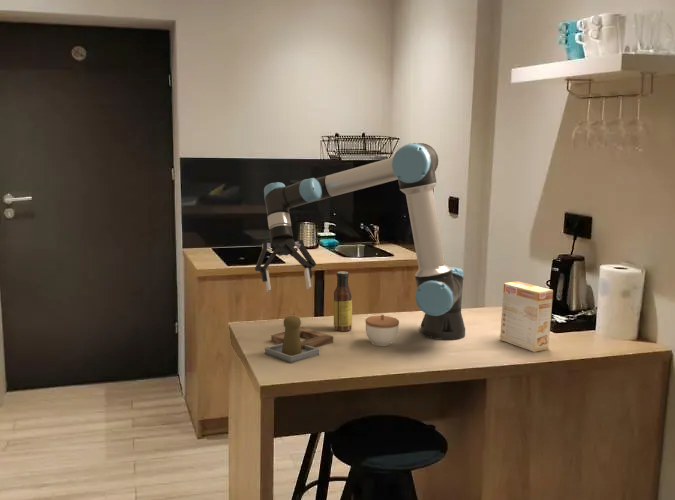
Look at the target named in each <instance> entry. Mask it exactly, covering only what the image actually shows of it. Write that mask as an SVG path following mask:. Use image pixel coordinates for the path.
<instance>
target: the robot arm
mask: <svg viewBox="0 0 675 500" xmlns="http://www.w3.org/2000/svg"><path fill="white" fill-rule="evenodd" d="M438 166H439V156H438V153H437V151H436V150H435V149H434V148H433V146H431V145H429V144H428V143H424V142H423V143H421V142H417V143H416V142H413V143H410V142H409V143H408V144H405V145H402V146H401V147H400V148H398V149H397V150H396V152H395V153H394V155H393V156H392V157H389V158H386V159H382V160H378V161H374V162H370V163H367V164H364V165H363V164H362V165H360V166H357V167H354V168H350V169H347V170H342V171H339V172H334V173H332V174H328V175H325V176H321V177H317V178H315V177H311V178H306V179H303V180H301V181H297V182H295V183H293V184H290V185H285V184H284V183H283V182H279V181H277V182H271V183H268V184H266V185H265V186H264V189H263V194H264V195H263V196H264V197H263V198H264V199H263V200H264V203H265V208H266V209H265V210H266V216H267V225H268V229H269V239H270V242H267V241H263V242H262V244H261V252H260V254H259V257H258V260H257V262H256V266H255V268H254V271H256V272H260V274H261V279H262V282H264V283H265V288H266V290H265V291H266V293H270V292H271V291H272V286H271V280H270V272H269V271H270V270H269V269H268V267H269V266H270V265H271V262H272V261H273V260H274V258H275V257H276V256H279V257H282V256H290V257H293V258H294V260H296V261H297V262H298V263H299V264H300V265H301V266H302V268H304V270H303V273H304V280H305V286H306V290H310V289H311V288H312V282H311V280H312V278H313V271H312V269H313V268H315V267H316V266H317V263H316V261H315V260H314V258H313V257H312V255H311V253H310V252H309V250H308V249H307V247H306V245H305V244H304V240H303V239H300V240H298V241H295V240H294V235H293V229H292V228H293V227H292V221H291V216H290V210H291V209H293V208H296V207H299V206H302V205H305V204H309V203H313V202H318V201H322V200H326V199H328V198H332V197H335V196H339V195H343V194H347V193H351V192H355V191H359V190H363V189H366V188H370V187H375V186H378V185H383V184H385V183H389V182H394V181H397V180H398V186H399V191H401V193H403V194H404V195H405V198H406V203H407V208H408V214H409V221H410V226H411V227H410V228H411V233H412V238H413V243H414V244H413V245H414V249H415V250H414V251H415V254H416V262H417V267H418V269H417V271H416V272H415V273H414V276H415V277H414V278H415V282H416V283H415V284H416V290H415V296H414V298H415V303H416V306H417V307H418V308H419V310H420V311H422V312H423V313H424V314H423V318H422V321H421V324H420V325H419V327H420V328H419V332H420V334H421V335H423V336H425V337H427V338H431V339H435V340H450V341H451V340H459V339H462V338H464V337H465V336H466V327H465V323H464V317H463V313H462V304H463V303H462V302H463V288H464V278H465V277H464V270H463V269H462V268H460V267H454V266H448V264H446V260H445V254H444V253H445V252H444V247H443V241H442V235H441V230H440V223H439V217H438V212H437V206H436V200H435V196H434V188H435V187H436V186H437V183H438V182H437V178H436V176H437V175H436V171H437V169H438V168H439V167H438ZM295 247H296V248H297V249H299V252H300V253H301V254H302V255H301V254H300V253H299V252H298V250H297V249H296V248H295ZM269 248H270V249H271V250H272V251H273V252H272V253H271V254H270V256H269V258H268V259H267V260H266V262H265V263H264V265H263V266H262V264H263V261H264V258H265V256H266V253H267V250H269ZM267 269H268V270H267Z"/></svg>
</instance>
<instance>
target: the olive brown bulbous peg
mask: <svg viewBox="0 0 675 500" xmlns="http://www.w3.org/2000/svg"><path fill="white" fill-rule="evenodd" d="M301 322H302V320H301V318H300V317H298V316H295V315H291V316H286V317H284V320H283V327H284V328H285V329H284V332H285V333H284V340H283V347H282V353H284V354H287V355H290V356H293V355H297V354H300V353H302V351H301V342H300V341H301V337H300V333H299V328H301V324H302V323H301Z"/></svg>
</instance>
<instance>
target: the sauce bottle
mask: <svg viewBox="0 0 675 500" xmlns="http://www.w3.org/2000/svg"><path fill="white" fill-rule="evenodd" d="M349 274H350V273H349V272H348V271H343V270H342V271H337V272H336V280H337V281H336V282H337V283H336V287H335V290H334V292H333V327H334V330H335V331H338V332H350V331H351V330H352V328H353V327H352V326H353V295H352V293H351V290H350V286H349V276H350V275H349Z"/></svg>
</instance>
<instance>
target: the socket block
mask: <svg viewBox="0 0 675 500" xmlns="http://www.w3.org/2000/svg"><path fill="white" fill-rule="evenodd" d="M284 333H285V331H283V332H282V331H281V332H278V333H274V334H271V335H270V338H271V339H270V342H273V343H275V344H277V345H278V344H282V343H283V340H284ZM299 333H300V338H301V337H302V336H303V337H302V338H305V337H306V339H305V340H300V342H301V350H302V349H304V345H308V346H311V347H315V348H319V347H322V346H325V345H329V344H331V343H334V335H330V334H328V333H323V332H321V331H318V330H314V329H310V328H308V327H304V326H302V327H301V326H300V327H299Z"/></svg>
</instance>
